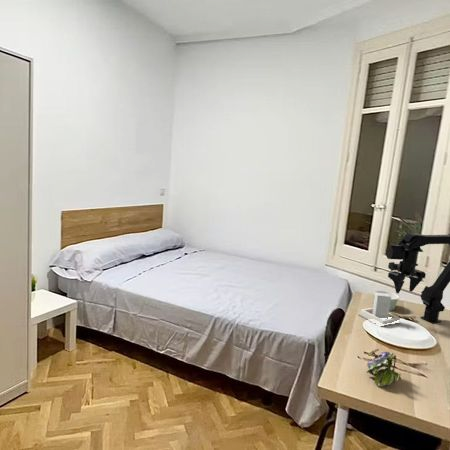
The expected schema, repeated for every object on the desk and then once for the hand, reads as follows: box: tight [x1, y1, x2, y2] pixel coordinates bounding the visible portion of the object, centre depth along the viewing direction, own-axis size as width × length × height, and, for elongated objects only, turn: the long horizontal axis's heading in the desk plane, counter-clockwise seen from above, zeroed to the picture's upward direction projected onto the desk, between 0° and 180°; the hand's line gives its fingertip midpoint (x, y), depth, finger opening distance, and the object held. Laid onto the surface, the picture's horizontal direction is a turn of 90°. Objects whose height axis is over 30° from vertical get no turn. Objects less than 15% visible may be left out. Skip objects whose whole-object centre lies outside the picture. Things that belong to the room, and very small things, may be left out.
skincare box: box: [372, 293, 391, 319], centre depth 168 cm, size 6×4×12 cm
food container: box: [373, 290, 400, 311], centre depth 185 cm, size 12×12×6 cm
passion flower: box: [365, 348, 402, 387], centre depth 120 cm, size 11×11×12 cm
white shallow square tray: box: [358, 307, 401, 324], centre depth 169 cm, size 13×13×3 cm
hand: (404, 292), depth 170 cm, fingers open, 9 cm apart
